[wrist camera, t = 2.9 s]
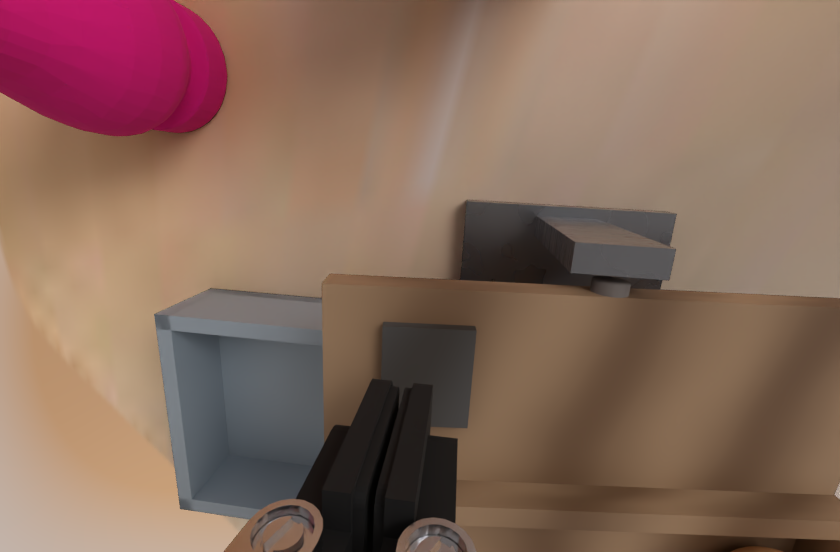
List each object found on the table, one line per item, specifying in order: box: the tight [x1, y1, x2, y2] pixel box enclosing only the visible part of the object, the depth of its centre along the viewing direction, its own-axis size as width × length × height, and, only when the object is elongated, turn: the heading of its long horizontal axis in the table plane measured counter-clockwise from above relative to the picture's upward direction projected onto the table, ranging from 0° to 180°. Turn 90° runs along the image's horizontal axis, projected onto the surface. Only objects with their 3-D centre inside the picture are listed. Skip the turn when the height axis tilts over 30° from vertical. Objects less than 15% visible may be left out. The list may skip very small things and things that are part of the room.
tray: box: [322, 274, 840, 552], centre depth 14 cm, size 19×15×4 cm
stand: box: [460, 200, 677, 290], centre depth 19 cm, size 10×18×9 cm, turn 177°
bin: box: [154, 288, 324, 519], centre depth 23 cm, size 13×12×4 cm
